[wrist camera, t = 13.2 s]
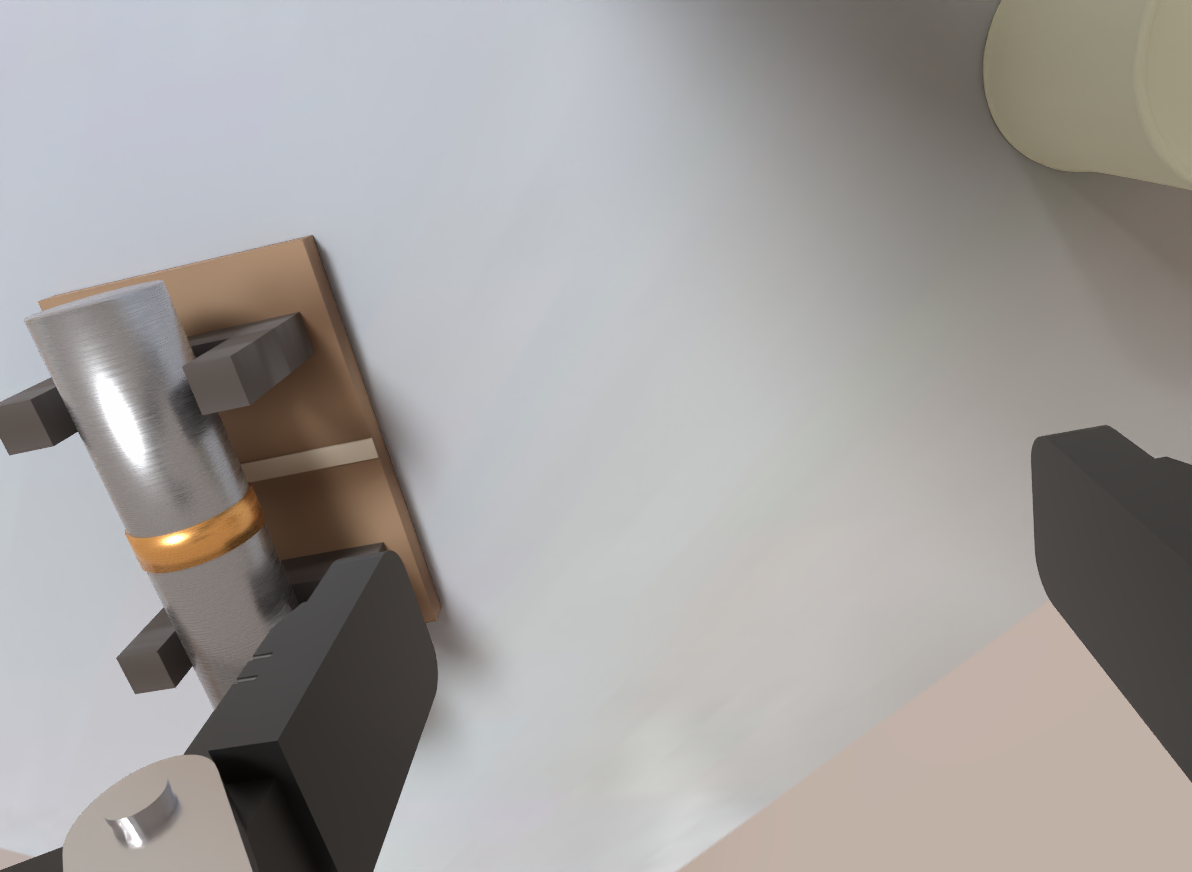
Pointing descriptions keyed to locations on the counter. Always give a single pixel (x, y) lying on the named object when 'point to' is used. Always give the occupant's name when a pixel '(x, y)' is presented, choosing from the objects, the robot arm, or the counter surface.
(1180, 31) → the can
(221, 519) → the tube
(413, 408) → the counter surface
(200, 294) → the cradle stand
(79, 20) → the counter surface
